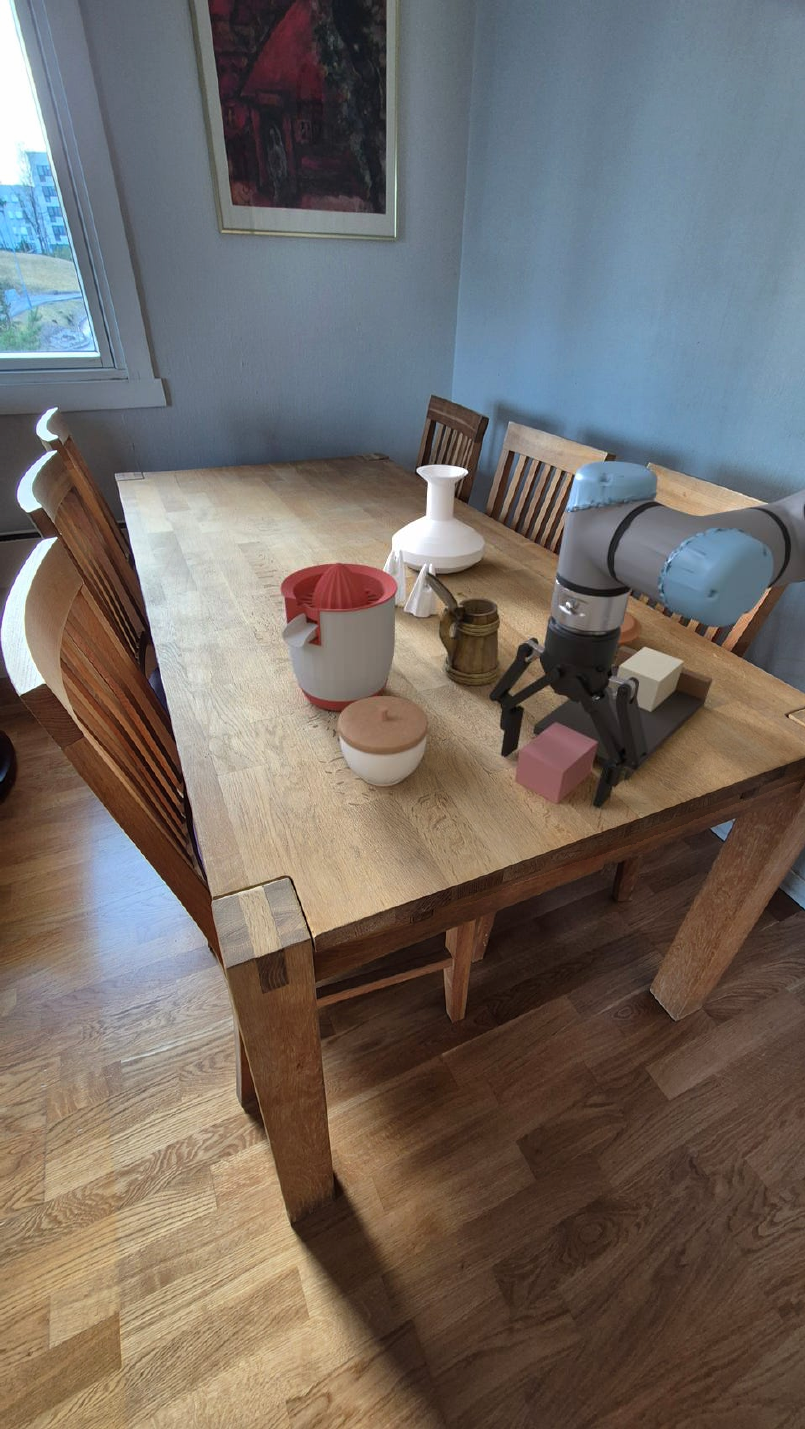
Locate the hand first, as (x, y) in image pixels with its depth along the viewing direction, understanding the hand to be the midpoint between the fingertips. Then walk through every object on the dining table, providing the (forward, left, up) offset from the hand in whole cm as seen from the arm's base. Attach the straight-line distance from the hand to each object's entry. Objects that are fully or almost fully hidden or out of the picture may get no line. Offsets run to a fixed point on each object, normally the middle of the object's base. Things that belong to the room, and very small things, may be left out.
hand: (553, 775), depth 78 cm
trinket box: (+16, +14, 0) cm, 21 cm away
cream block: (0, -24, +1) cm, 24 cm away
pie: (+15, -36, 0) cm, 39 cm away
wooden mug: (+24, -11, 0) cm, 26 cm away
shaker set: (+46, -22, 0) cm, 51 cm away
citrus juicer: (+33, +6, 0) cm, 33 cm away
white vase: (+57, -44, 0) cm, 72 cm away
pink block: (0, 0, 0) cm, 0 cm away
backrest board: (0, -18, 0) cm, 18 cm away
